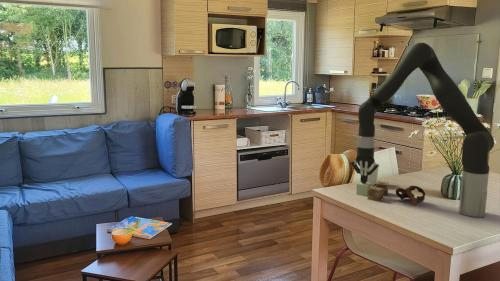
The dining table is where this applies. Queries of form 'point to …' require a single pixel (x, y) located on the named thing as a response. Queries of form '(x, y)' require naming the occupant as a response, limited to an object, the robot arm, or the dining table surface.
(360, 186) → the plain block
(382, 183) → the walnut block one
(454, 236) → the dining table surface
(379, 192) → the walnut block two
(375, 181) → the white cup
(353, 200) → the dining table surface
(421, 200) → the brown looped ring sculpture
